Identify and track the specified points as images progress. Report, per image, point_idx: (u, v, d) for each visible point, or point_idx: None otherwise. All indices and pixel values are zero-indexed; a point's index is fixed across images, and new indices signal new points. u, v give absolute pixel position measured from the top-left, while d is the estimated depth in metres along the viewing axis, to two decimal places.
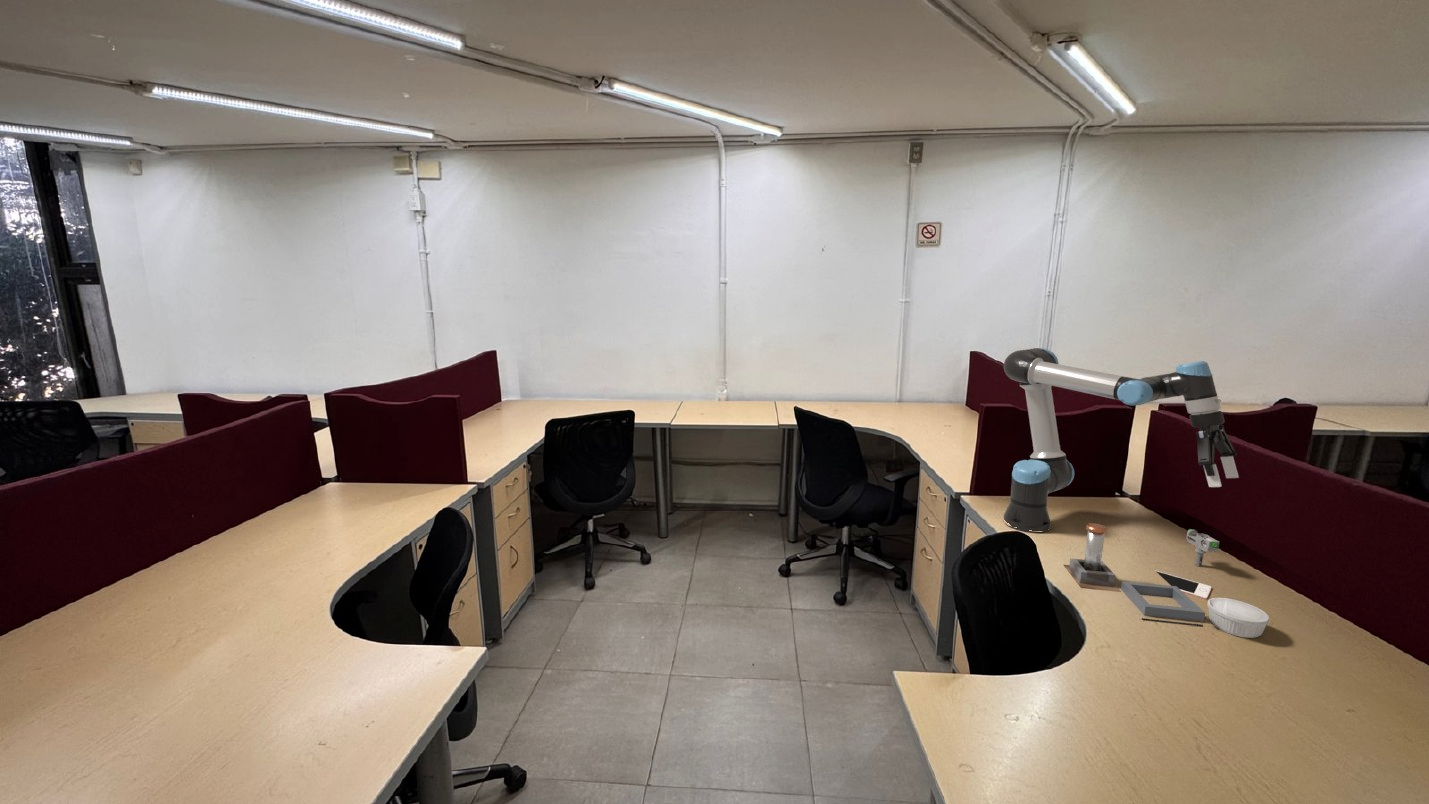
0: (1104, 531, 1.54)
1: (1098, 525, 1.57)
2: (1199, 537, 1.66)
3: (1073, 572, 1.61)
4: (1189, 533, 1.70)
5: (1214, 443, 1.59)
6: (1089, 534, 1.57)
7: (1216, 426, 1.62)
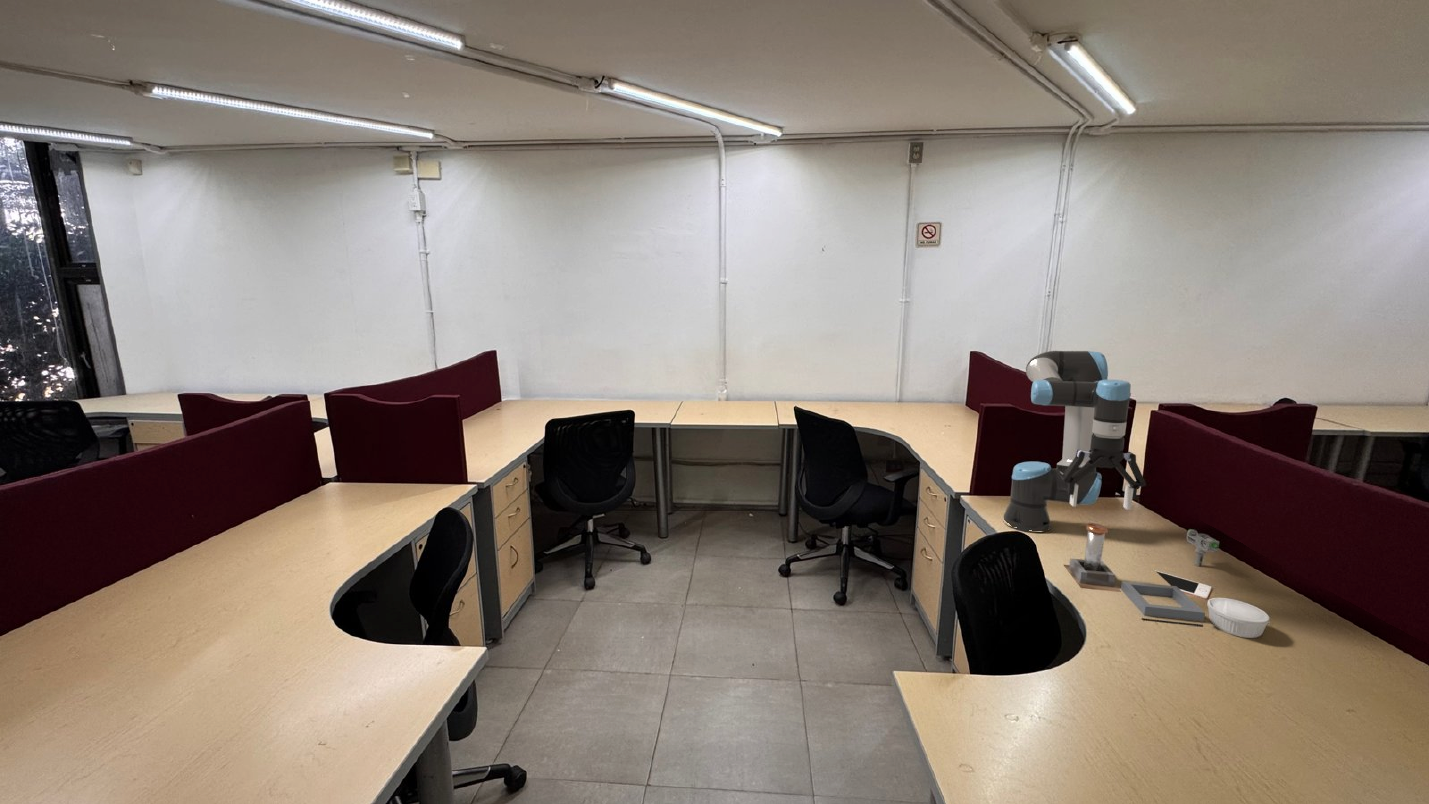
0: (1104, 531, 1.54)
1: (1098, 525, 1.57)
2: (1199, 537, 1.66)
3: (1073, 572, 1.61)
4: (1189, 533, 1.70)
5: (1091, 467, 1.52)
6: (1089, 534, 1.57)
7: (1116, 453, 1.50)
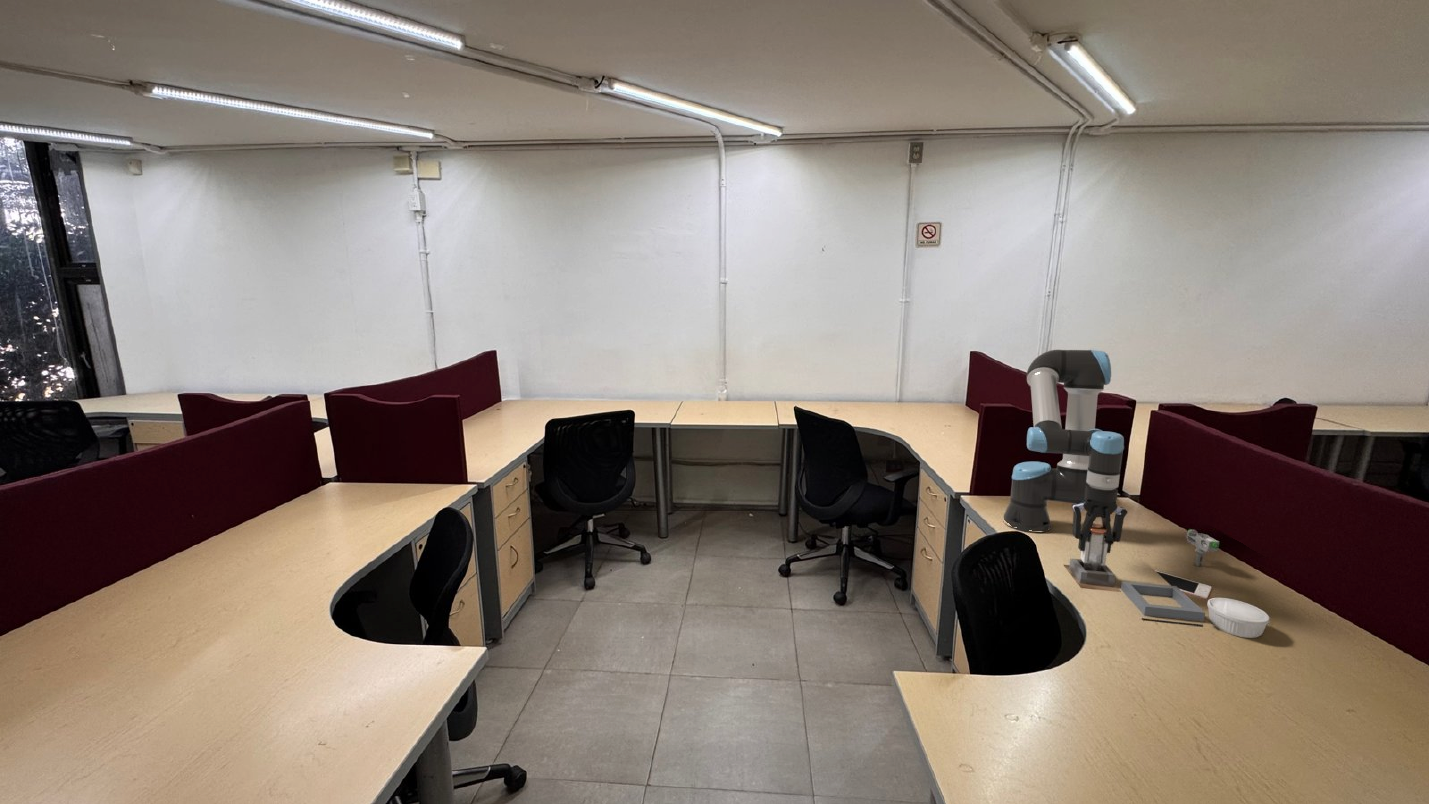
0: (1104, 531, 1.54)
1: (1098, 525, 1.57)
2: (1199, 537, 1.66)
3: (1073, 572, 1.61)
4: (1189, 533, 1.70)
5: (1091, 520, 1.55)
6: (1089, 534, 1.57)
7: (1112, 502, 1.53)
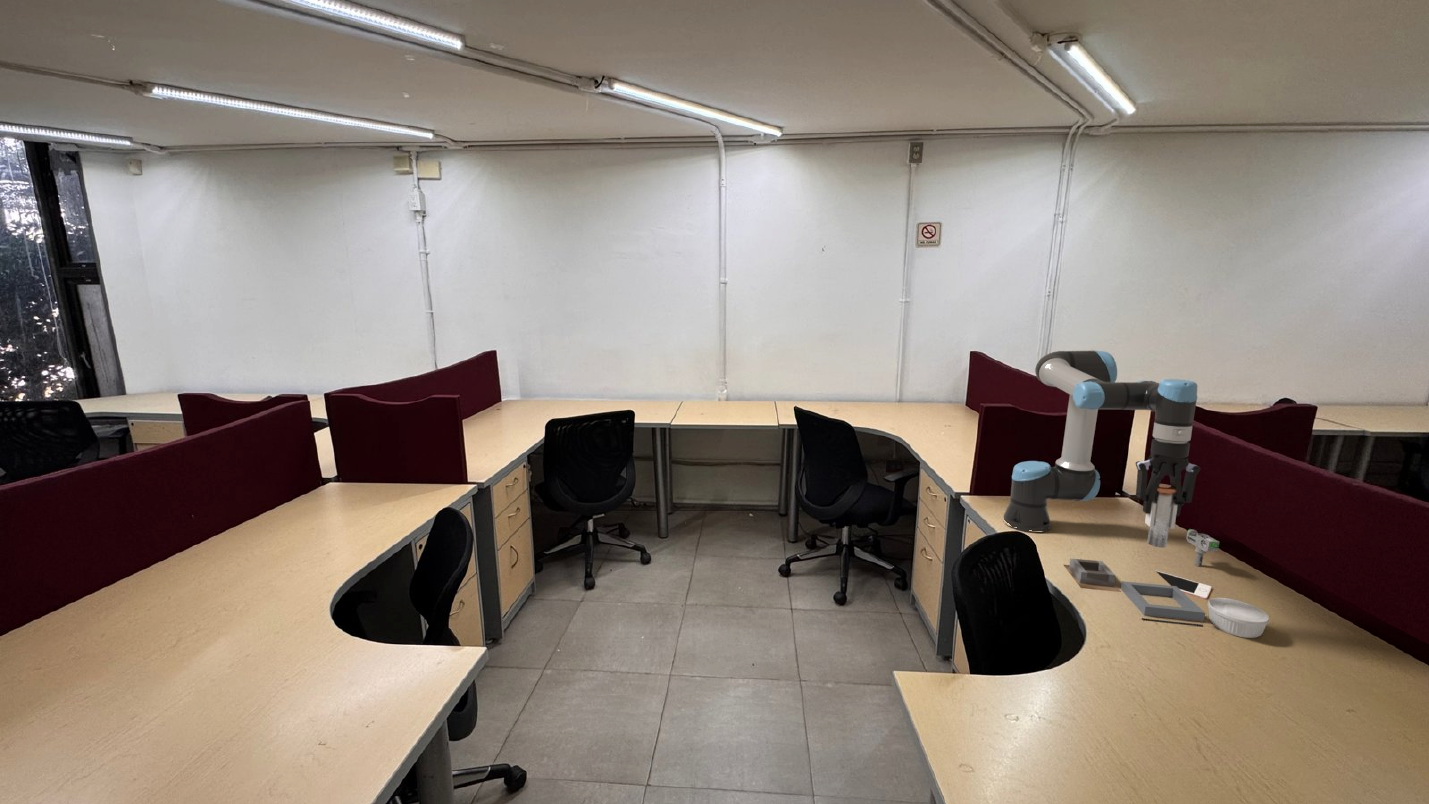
0: (1173, 491, 1.39)
1: (1165, 485, 1.42)
2: (1199, 537, 1.66)
3: (1073, 572, 1.61)
4: (1189, 533, 1.70)
5: (1159, 478, 1.40)
6: (1156, 495, 1.41)
7: (1183, 458, 1.38)
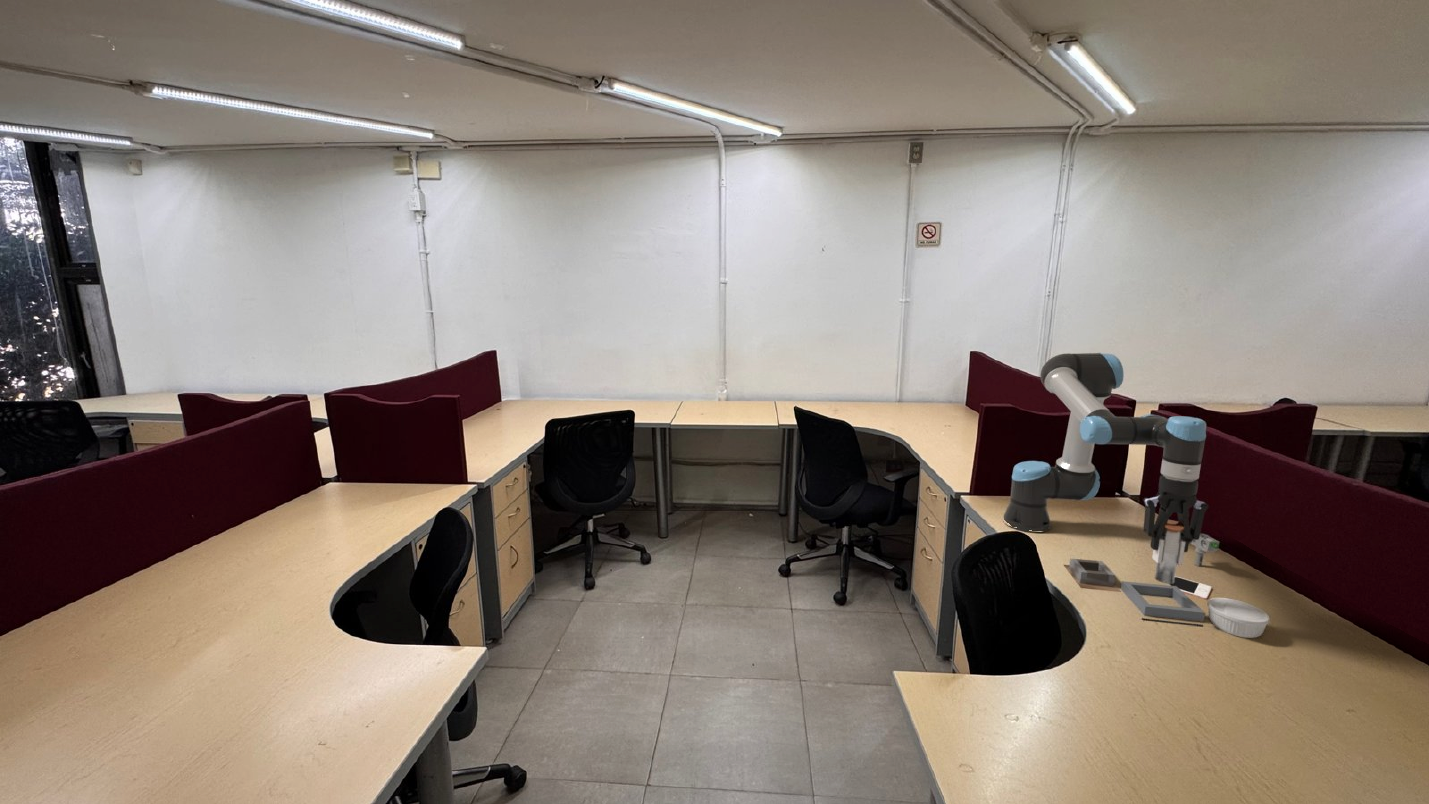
0: (1182, 528, 1.38)
1: (1173, 521, 1.41)
2: (1199, 537, 1.66)
3: (1073, 572, 1.61)
4: None
5: (1167, 515, 1.39)
6: (1164, 531, 1.41)
7: (1191, 495, 1.37)
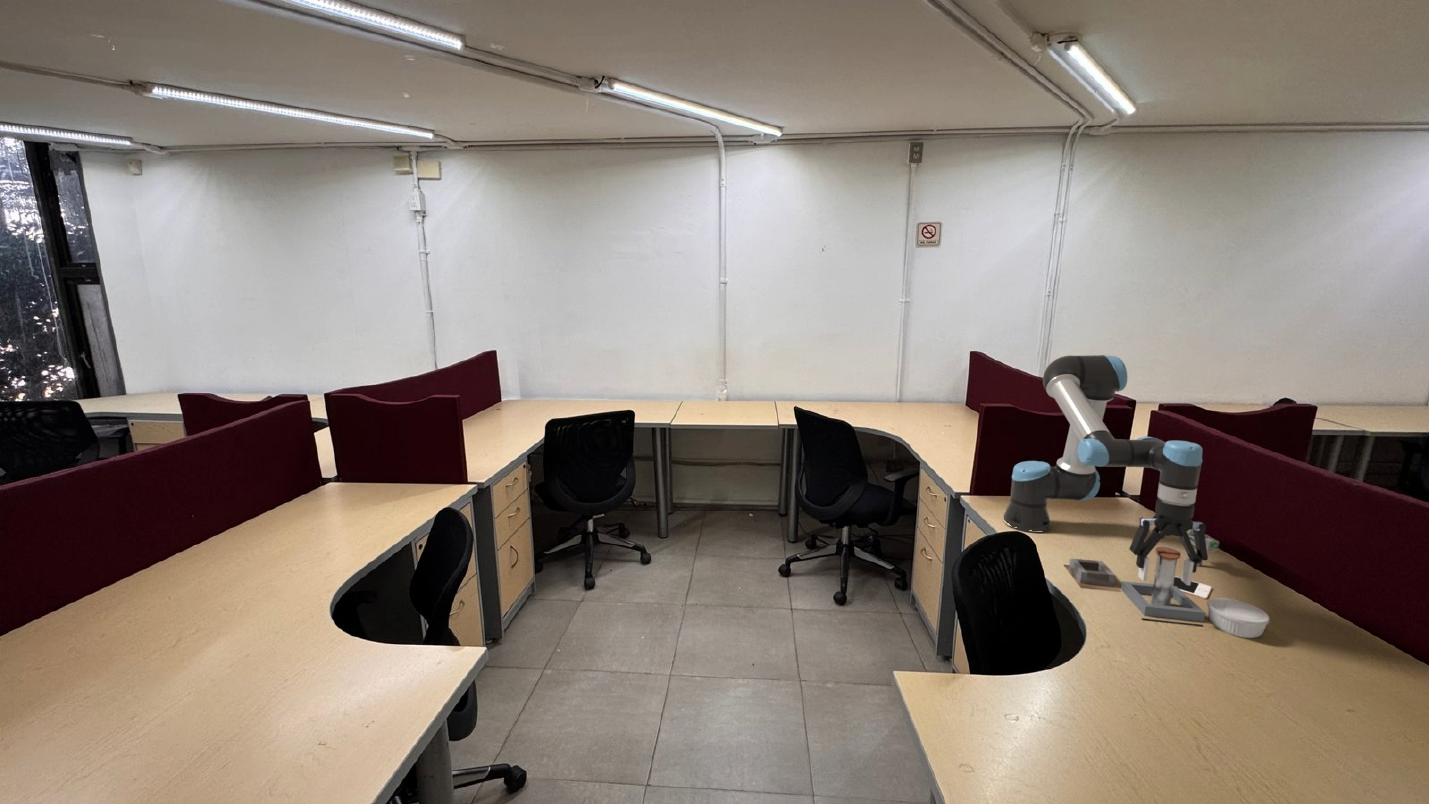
0: (1177, 556, 1.40)
1: (1169, 549, 1.43)
2: None
3: (1073, 572, 1.61)
4: (1189, 533, 1.70)
5: (1159, 536, 1.41)
6: (1159, 559, 1.42)
7: (1186, 519, 1.39)
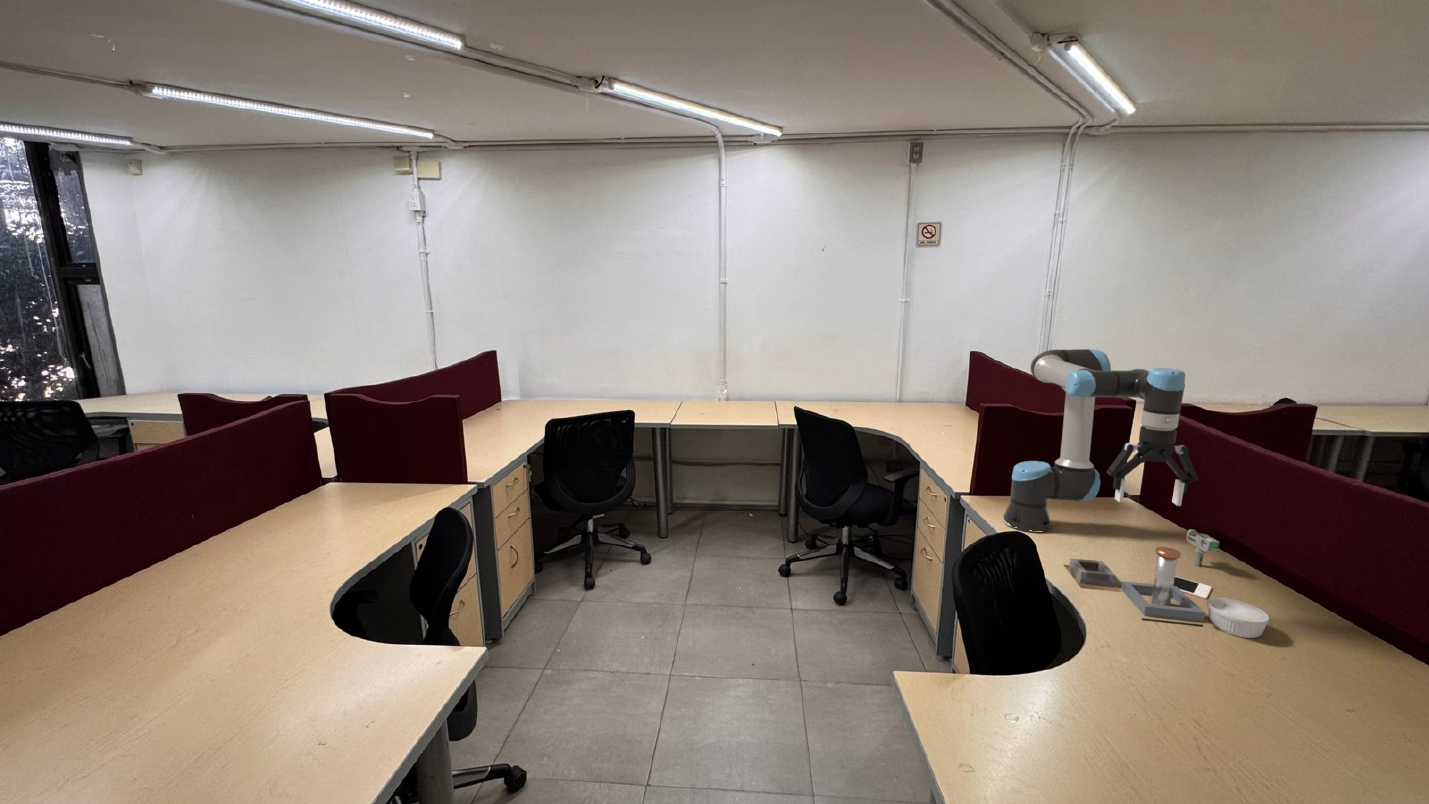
0: (1177, 556, 1.40)
1: (1169, 549, 1.43)
2: (1199, 537, 1.66)
3: (1073, 572, 1.61)
4: (1189, 533, 1.70)
5: (1140, 460, 1.44)
6: (1160, 559, 1.42)
7: (1167, 446, 1.42)
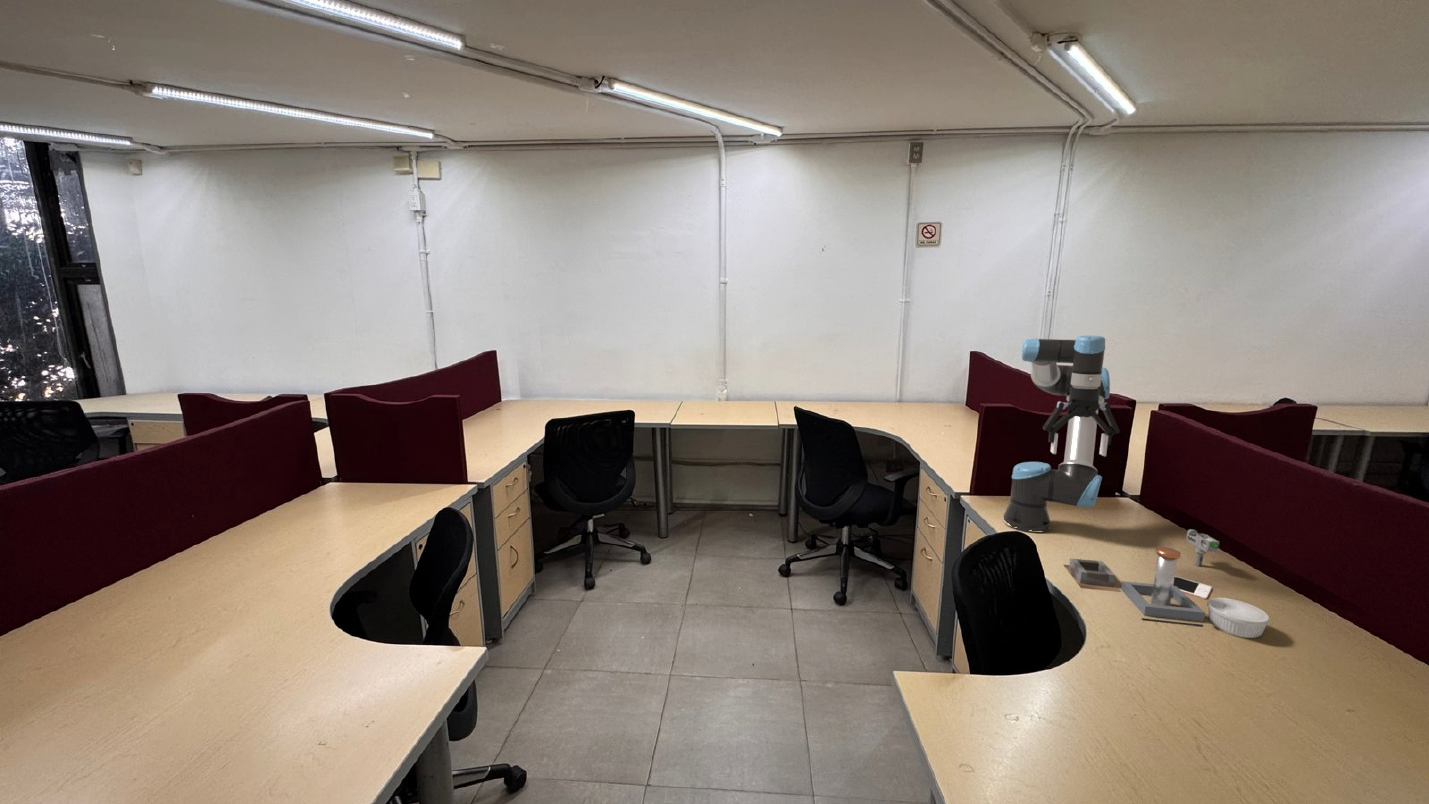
0: (1177, 556, 1.40)
1: (1169, 549, 1.43)
2: (1199, 537, 1.66)
3: (1073, 572, 1.61)
4: (1189, 533, 1.70)
5: (1069, 416, 1.66)
6: (1159, 559, 1.42)
7: (1092, 403, 1.64)
